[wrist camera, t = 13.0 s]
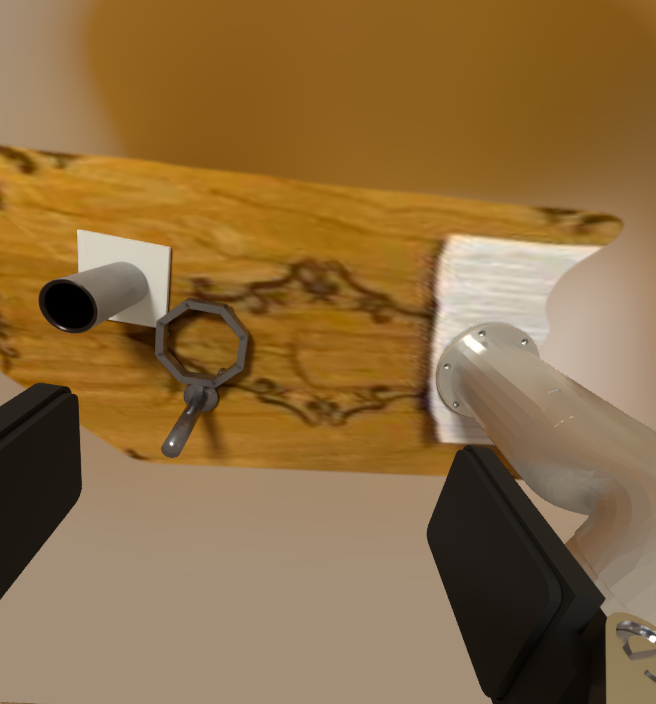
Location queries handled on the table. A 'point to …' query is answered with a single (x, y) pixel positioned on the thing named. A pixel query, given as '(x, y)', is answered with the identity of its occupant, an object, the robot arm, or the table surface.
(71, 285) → the gray hollow cylinder
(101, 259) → the coaster
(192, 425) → the ring stand
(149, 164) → the table surface
